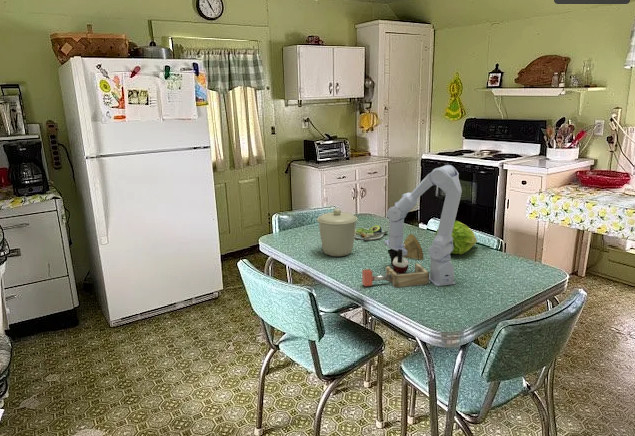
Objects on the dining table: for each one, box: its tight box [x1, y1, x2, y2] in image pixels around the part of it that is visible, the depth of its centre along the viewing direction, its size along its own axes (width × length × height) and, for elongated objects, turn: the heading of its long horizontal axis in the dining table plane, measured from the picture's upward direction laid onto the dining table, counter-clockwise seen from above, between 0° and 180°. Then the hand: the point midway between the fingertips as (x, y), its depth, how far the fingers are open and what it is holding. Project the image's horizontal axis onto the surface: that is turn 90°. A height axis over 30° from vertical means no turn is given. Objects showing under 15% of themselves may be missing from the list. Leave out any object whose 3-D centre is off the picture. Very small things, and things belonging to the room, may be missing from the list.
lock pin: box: [361, 268, 392, 287], centre depth 173 cm, size 3×11×5 cm, turn 102°
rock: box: [402, 233, 424, 260], centre depth 201 cm, size 11×9×10 cm
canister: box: [316, 208, 358, 257], centre depth 207 cm, size 18×18×21 cm
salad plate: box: [354, 224, 389, 241], centre depth 233 cm, size 19×18×5 cm
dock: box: [385, 263, 430, 288], centre depth 177 cm, size 10×13×4 cm
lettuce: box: [434, 220, 478, 255], centre depth 206 cm, size 15×25×16 cm
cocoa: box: [392, 249, 410, 275], centre depth 183 cm, size 10×6×12 cm, turn 140°
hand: (394, 266), depth 188 cm, fingers closed, pressing on cocoa
